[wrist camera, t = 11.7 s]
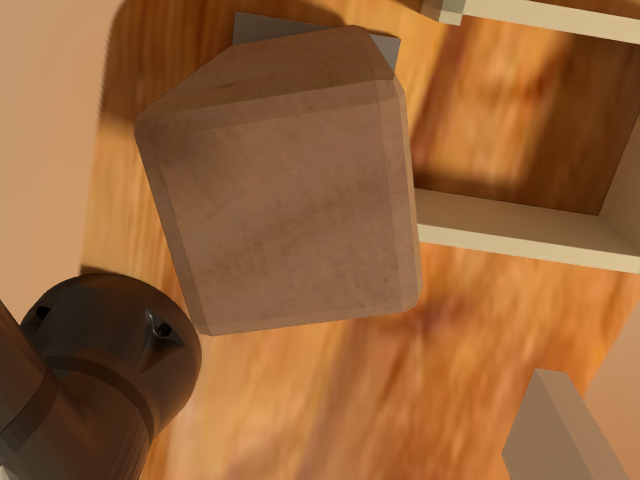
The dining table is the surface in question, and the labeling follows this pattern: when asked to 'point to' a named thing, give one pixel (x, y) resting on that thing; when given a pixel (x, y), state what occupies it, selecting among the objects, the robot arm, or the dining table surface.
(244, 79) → the wooden block
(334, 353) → the dining table surface
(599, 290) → the dining table surface
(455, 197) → the crate
